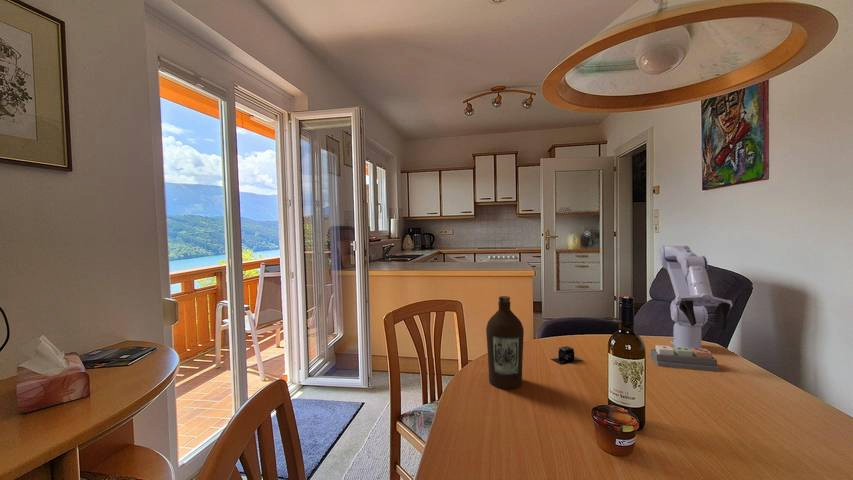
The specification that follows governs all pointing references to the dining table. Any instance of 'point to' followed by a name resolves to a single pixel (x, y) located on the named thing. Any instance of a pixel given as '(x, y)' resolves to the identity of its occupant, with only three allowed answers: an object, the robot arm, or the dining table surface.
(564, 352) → the black block
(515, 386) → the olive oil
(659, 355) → the keypad base
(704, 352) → the key three pip
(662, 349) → the key one pip
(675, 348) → the key two pip
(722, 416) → the dining table surface
